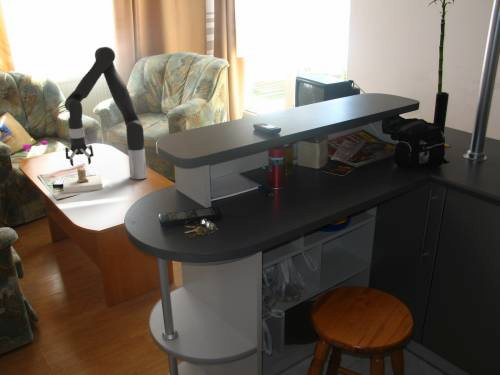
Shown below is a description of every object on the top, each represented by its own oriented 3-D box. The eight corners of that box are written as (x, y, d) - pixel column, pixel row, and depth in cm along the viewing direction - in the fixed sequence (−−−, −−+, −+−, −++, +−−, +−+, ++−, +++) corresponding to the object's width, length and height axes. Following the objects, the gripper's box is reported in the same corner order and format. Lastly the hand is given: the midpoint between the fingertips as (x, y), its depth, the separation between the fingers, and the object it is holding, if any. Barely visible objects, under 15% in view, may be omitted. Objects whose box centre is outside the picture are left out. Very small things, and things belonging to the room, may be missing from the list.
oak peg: (87, 184, 278) (85, 167, 274) (87, 187, 274) (85, 170, 271) (79, 185, 276) (77, 168, 273) (79, 188, 273) (77, 170, 269)
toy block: (28, 157, 331) (27, 146, 329) (24, 155, 335) (22, 144, 333) (50, 152, 341) (48, 142, 339) (45, 151, 345) (44, 140, 343)
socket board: (100, 180, 285) (100, 175, 284) (102, 189, 271) (102, 183, 270) (64, 183, 279) (63, 178, 278) (64, 193, 265) (63, 187, 264)
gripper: (90, 133, 271) (94, 161, 276) (63, 135, 266) (67, 164, 272) (91, 136, 264) (94, 165, 270) (63, 138, 260) (67, 168, 265)
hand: (81, 164), depth 271 cm, fingers open, 8 cm apart
